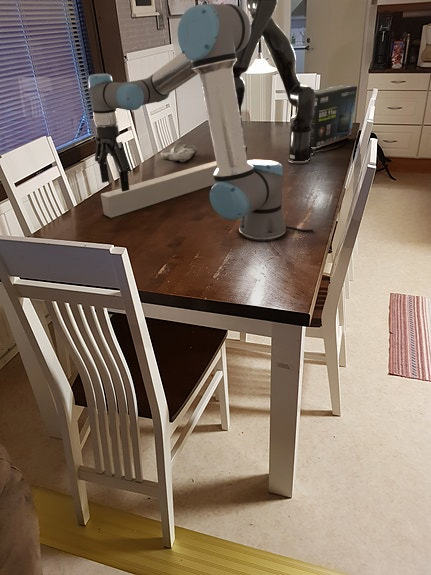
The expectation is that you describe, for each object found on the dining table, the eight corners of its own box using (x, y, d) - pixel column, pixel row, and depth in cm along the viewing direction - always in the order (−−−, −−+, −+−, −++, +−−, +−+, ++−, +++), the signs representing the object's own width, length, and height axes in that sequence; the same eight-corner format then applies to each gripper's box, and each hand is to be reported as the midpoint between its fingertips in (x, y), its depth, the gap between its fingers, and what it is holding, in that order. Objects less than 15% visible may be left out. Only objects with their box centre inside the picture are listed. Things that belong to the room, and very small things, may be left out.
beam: (111, 217, 165) (107, 197, 161) (103, 214, 168) (100, 194, 164) (246, 173, 204) (246, 156, 200) (238, 171, 207) (238, 154, 203)
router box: (314, 151, 231) (318, 94, 217) (296, 148, 237) (299, 92, 224) (352, 138, 251) (358, 85, 238) (335, 135, 258) (340, 83, 245)
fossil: (184, 156, 217) (163, 136, 220) (174, 174, 223) (154, 154, 227) (205, 153, 231) (186, 134, 234) (195, 171, 237) (176, 152, 240)
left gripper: (136, 128, 148) (143, 191, 159) (97, 117, 164) (106, 176, 175) (116, 132, 143) (125, 197, 154) (78, 121, 159) (89, 180, 171)
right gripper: (252, 129, 189) (251, 169, 198) (228, 124, 199) (229, 163, 207) (239, 132, 185) (239, 173, 194) (215, 127, 195) (216, 167, 203)
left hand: (115, 186), depth 165 cm, fingers open, 13 cm apart
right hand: (234, 168), depth 201 cm, fingers closed on beam, 5 cm apart
